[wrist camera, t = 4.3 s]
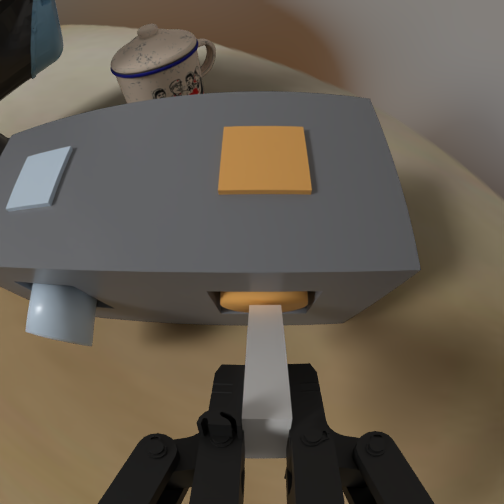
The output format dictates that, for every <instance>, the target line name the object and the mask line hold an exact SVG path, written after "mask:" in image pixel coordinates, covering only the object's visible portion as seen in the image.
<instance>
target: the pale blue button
mask: <svg viewBox="0 0 504 504" xmlns="http://www.w3.org/2000/svg"><path fill="white" fill-rule="evenodd" d="M96 304H97V299H95V298H94V297H92V296H90V295H88V294H86V293H84V292H83V291H81V290H79V289H77V288H76V287H74V286H66V285H52V284H39V283H33V285H32V291H31V296H30V302H29V309H28V316H27V323H26V332H28V333H31V334H34V335H38V336H42V337H46V338H50V339H54V340H58V341H63V342H68V343H73V344H79V345H85V346H92V342H93V331H94V321H95V312H96Z"/></svg>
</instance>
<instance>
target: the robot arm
mask: <svg viewBox="0 0 504 504" xmlns="http://www.w3.org/2000/svg"><path fill="white" fill-rule="evenodd" d="M62 51H63V39H62V33H61V28H60V24H59V19H58V14H57V8H56V3H55V0H0V101H1V100H2V99H3V98H5V97H6V96H7V95H8V94H10V93H11V92H12V91H14V90H15V89H16V88H18V87H19V86H20V85H22V84H23V83H25V82H26V81H27V80H29V79H30V78H32V79H33V78H35V77H36V75H37V74H38V73H39V72H41V71H42V70H44V69H45V68H46V67H48V66H49V65H51V64H52V63H54V62H55V61H56V60H57V59H58V58H59V57H60V55H61V53H62ZM9 139H10V138H7V137H5V136H4V135H2V134H1V133H0V156H1V154H2V152H3V150H4V148H5V147H6V145H7V143H8V141H9ZM197 426H198V430H199V433H198V434H196V435H194V436H191V437H187V438H182V439H175V440H173V439H172V438H170V437H168V436H167V435H164V434H159V433H157V434H150V435H148V436H146V437H144V438H143V439H142V440H141V441H140V442H139V443H138V444H137V446H136V447H135V449H134V450H133V452H132V453H131V455H130V456H129V458H128V459H127V461H126V462H125V464H124V465H123V467H122V468H121V470H120V471H119V473H118V474H117V476H116V477H115V479H114V480H113V482H112V483H111V485H110V486H109V488H108V489H107V491H106V492H105V494H104V495H103V497H102V498H101V500H100V501H99V503H98V504H181V503H182V501H183V499H184V497H185V495H186V493H187V491H188V489H189V487H192V490H191V496H190V502H189V504H243V499H244V479H245V467H244V464H245V458H286V459H287V467H286V472H285V477H284V479H286V490H287V504H344V497H343V492H344V494H345V496H346V498H347V500H348V502H349V504H434V502H433V501H432V499H431V498H430V496H429V495H428V493H427V491H426V490H425V488H424V487H423V485H422V484H421V482H420V481H419V479H418V477H417V476H416V474H415V473H414V471H413V470H412V468H411V467H410V465H409V464H408V462H407V461H406V459H405V457H404V456H403V454H402V453H401V451H400V450H399V448H398V447H397V445H396V444H395V442H394V441H393V439H392V438H391V437H390V436H389V435H387V434H385V433H383V432H377V431H373V432H368V433H366V434H364V435H363V436H361V437H360V438H356V437H349V436H344V435H340V434H338V433H336V432H334V431H333V430H332V429H330V427H329V426H328V424H327V422H326V418H325V413H324V407H323V402H322V397H321V392H320V387H319V381H318V376H317V372H316V371H315V369H314V368H313V367H312V366H311V364H310V363H309V364H287V356H286V346H285V336H284V327H283V318H282V308H281V305H249V317H248V332H247V347H246V362H245V365H221V366H220V367H219V369H218V370H217V371H216V373H215V377H214V382H213V388H212V394H211V400H210V405H209V411H207V412H205V413H203V414H202V415H201V416H200V417H199V419H198V421H197ZM342 490H343V491H342Z"/></svg>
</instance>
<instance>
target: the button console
mask: <svg viewBox="0 0 504 504" xmlns="http://www.w3.org/2000/svg"><path fill="white" fill-rule="evenodd" d="M420 270H421V268H420V263H419V258H418V253H417V248H416V243H415V238H414V234H413V229H412V225H411V221H410V217H409V213H408V209H407V205H406V201H405V198H404V194H403V191H402V187H401V184H400V180H399V177H398V174H397V171H396V168H395V164H394V161H393V158H392V155H391V153H390V150H389V147H388V144H387V141H386V138H385V136H384V133H383V130H382V128H381V125H380V123H379V120H378V118H377V115H376V113H375V110H374V108H373V105H372V103H371V101H370V99H367V98H360V97H352V96H343V95H332V94H320V93H305V92H276V91H251V92H222V93H206V94H194V95H184V96H175V97H167V98H159V99H152V100H145V101H139V102H133V103H128V104H122V105H117V106H112V107H107V108H103V109H98V110H94V111H90V112H85V113H81V114H77V115H74V116H70V117H66V118H63V119H59V120H56V121H52V122H49V123H46V124H43V125H40V126H37V127H34V128H31V129H28V130H25V131H22V132H19V133H17V134H14V135H12V136H11V138H10V139H9V141H8V143H7V145H6V147H5V148H4V150H3V152H2V154H1V156H0V287H2V288H4V289H6V290H9V291H11V292H13V293H15V294H17V295H19V296H21V297H23V298H26V299H28V300H30V296H31V291H32V285H33V283H39V284H52V285H66V286H74V287H76V288H77V289H79V290H81V291H83V292H84V293H86V294H88V295H90V296H92V297H94V298H95V299H97V304H96V312H95V317H100V318H110V319H121V320H133V321H146V322H161V323H180V324H204V325H248V317H249V313H246V312H238V311H233V310H229V309H226V308H224V307H222V306H221V305H220V293H221V291H223V292H287V291H307V292H308V304H307V305H306V306H305V307H303V308H301V309H297V310H293V311H288V312H282V318H283V325H313V324H337V323H344V322H345V321H347V320H349V319H350V318H352V317H353V316H355V315H356V314H358V313H360V312H361V311H363V310H364V309H366V308H367V307H369V306H370V305H372V304H373V303H375V302H376V301H378V300H379V299H381V298H382V297H384V296H385V295H387V294H388V293H389V292H391V291H392V290H394V289H395V288H397V287H398V286H399V285H401V284H402V283H404V282H405V281H406V280H408V279H409V278H410V277H412V276H413V275H415V274H416V273H417V272H419V271H420Z"/></svg>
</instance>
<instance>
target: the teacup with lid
mask: <svg viewBox="0 0 504 504" xmlns="http://www.w3.org/2000/svg"><path fill="white" fill-rule="evenodd" d="M137 34H138V36H137V37H135V38H134V39H133V40H132V41H131V42H129V43H128V44H126V45H125V46H123V47H122V48H121V49H120V50H118V51H117V53H116V54H115V55H114V57H113V58H112V61H111V72H112V73H113V74H114V75H115V76H116V78H117V80H118V83H119V85H120V88H121V90H122V93H123V95H124V98H125V100H126V102H127V104H128V103H133V102H139V101H145V100H152V99H159V98H167V97H175V96H184V95H194V94H205V93H204V87H203V82H202V77H203V76H204V75H205V74H207V73H208V72H209V70H210V69H211V68H212V66H213V64H214V61H215V57H216V48H215V45H214V44H213V43H212V42H211V41H209V40H206V39H196V38H195V36H194V35H193V34H192V33H190V32H188V31H185V30H178V29H170V30H167V29H158V27H157V25H155V24H148V25H145V26H142V27H141V28H139V29H138V31H137ZM203 45H205V46H206V49H207V55H206V59H205V62H204V64H203V65H202V66H201V68H200V64H199V58H198V53H197V48H198V47H200V46H203Z"/></svg>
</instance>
